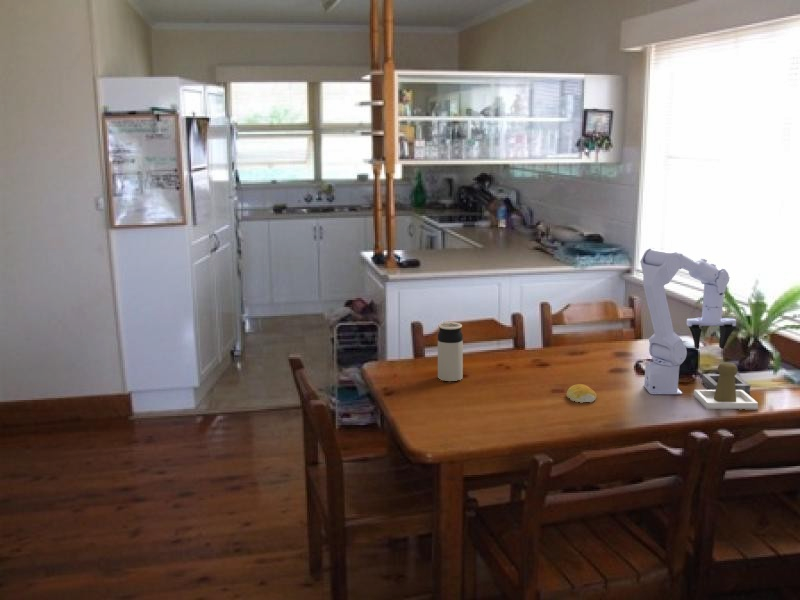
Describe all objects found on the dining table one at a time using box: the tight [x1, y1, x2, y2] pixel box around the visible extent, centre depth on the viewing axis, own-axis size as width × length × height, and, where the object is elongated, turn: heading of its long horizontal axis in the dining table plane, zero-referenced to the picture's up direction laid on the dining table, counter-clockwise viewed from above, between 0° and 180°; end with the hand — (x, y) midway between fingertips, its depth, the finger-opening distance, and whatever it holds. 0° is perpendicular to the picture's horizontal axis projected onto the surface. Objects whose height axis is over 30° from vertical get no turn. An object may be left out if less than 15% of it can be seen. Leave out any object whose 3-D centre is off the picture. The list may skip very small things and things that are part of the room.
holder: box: [701, 373, 751, 394], centre depth 230 cm, size 10×10×2 cm
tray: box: [693, 389, 759, 411], centre depth 217 cm, size 14×11×2 cm
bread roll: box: [566, 383, 598, 404], centre depth 223 cm, size 8×9×4 cm
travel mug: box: [437, 321, 464, 381], centre depth 240 cm, size 8×8×18 cm
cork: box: [714, 362, 738, 402], centre depth 217 cm, size 6×6×11 cm
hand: (709, 347), depth 235 cm, fingers open, 7 cm apart
